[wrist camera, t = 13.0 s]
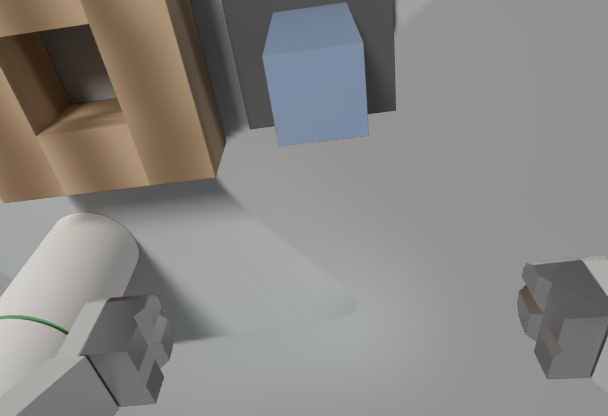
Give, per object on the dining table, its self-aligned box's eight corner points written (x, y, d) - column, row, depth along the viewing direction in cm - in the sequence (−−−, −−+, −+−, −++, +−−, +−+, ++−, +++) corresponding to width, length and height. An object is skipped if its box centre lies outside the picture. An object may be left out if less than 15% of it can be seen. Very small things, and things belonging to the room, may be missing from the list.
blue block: (346, 2, 27) (363, 42, 20) (351, 75, 30) (368, 135, 22) (273, 12, 28) (262, 56, 20) (284, 84, 30) (278, 146, 23)
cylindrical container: (58, 275, 40) (-202, 681, 19) (42, 208, 36) (-305, 628, 15) (142, 282, 41) (-24, 685, 20) (135, 217, 37) (-79, 635, 16)
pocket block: (167, -89, 25) (140, -86, 21) (225, 142, 33) (215, 177, 29) (-72, -49, 26) (-143, -39, 22) (40, 165, 34) (3, 203, 30)
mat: (389, -61, 26) (391, -60, 25) (394, 107, 32) (395, 110, 31) (216, -34, 27) (214, -32, 26) (250, 125, 32) (250, 129, 32)
